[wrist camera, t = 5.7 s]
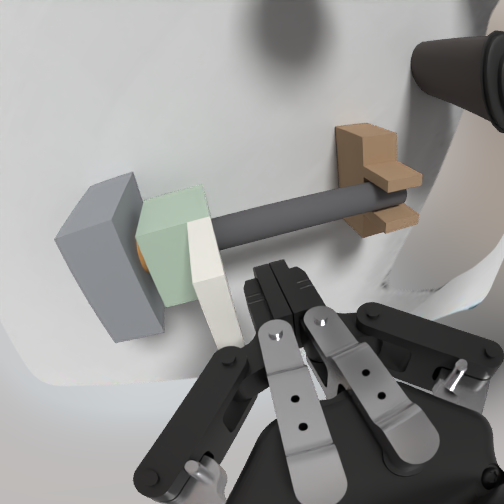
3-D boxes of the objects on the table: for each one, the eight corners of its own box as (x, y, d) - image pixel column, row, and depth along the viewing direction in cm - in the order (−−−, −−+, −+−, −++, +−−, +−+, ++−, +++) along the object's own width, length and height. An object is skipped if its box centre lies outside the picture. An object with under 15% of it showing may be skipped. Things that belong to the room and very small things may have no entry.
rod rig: (367, 123, 22) (434, 148, 15) (368, 208, 26) (422, 255, 20) (81, 189, 20) (42, 243, 13) (118, 274, 24) (105, 345, 17)
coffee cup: (415, 121, 22) (501, 155, 14) (386, 37, 18) (481, 39, 10) (464, 95, 22) (543, 121, 13) (442, 21, 17) (527, 27, 9)
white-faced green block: (202, 184, 19) (224, 274, 11) (218, 247, 22) (247, 356, 14) (143, 200, 19) (122, 301, 11) (166, 261, 22) (168, 375, 13)
